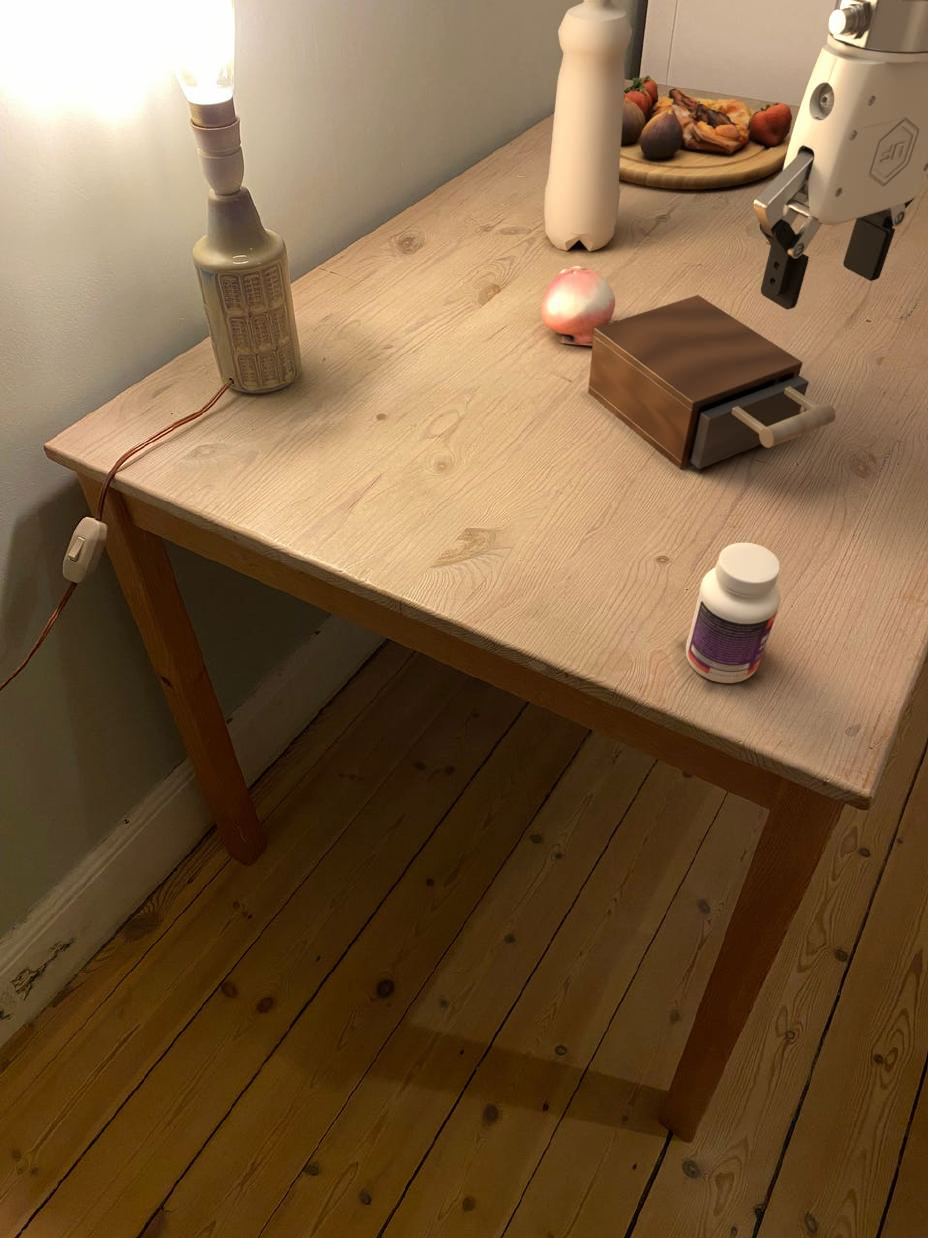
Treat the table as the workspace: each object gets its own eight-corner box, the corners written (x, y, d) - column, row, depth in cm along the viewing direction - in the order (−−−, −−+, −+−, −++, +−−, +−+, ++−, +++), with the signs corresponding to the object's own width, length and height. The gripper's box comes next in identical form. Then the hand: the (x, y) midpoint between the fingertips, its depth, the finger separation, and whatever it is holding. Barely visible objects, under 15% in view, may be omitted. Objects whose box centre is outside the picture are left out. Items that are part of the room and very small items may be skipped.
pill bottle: (765, 686, 66) (799, 590, 59) (690, 685, 66) (715, 590, 59) (750, 630, 69) (781, 534, 62) (679, 630, 70) (702, 534, 62)
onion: (596, 312, 103) (602, 250, 97) (625, 346, 98) (633, 282, 92) (529, 324, 101) (532, 261, 96) (555, 359, 96) (560, 295, 91)
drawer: (836, 460, 82) (857, 402, 78) (739, 502, 78) (755, 442, 74) (700, 364, 93) (711, 307, 89) (609, 396, 90) (616, 339, 85)
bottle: (614, 225, 118) (644, -60, 96) (615, 257, 112) (648, -39, 90) (543, 223, 119) (558, -60, 97) (541, 254, 112) (555, -40, 91)
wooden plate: (817, 135, 138) (833, 74, 132) (743, 212, 120) (757, 145, 114) (625, 99, 150) (631, 42, 144) (531, 164, 132) (533, 101, 126)
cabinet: (784, 427, 87) (803, 361, 82) (679, 469, 83) (693, 402, 78) (686, 357, 96) (698, 294, 91) (587, 392, 92) (594, 327, 87)
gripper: (837, 57, 52) (766, 339, 64) (1040, 11, 57) (938, 278, 70) (747, 25, 56) (698, 295, 69) (944, -14, 62) (864, 241, 75)
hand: (819, 285), depth 69 cm, fingers open, 7 cm apart
